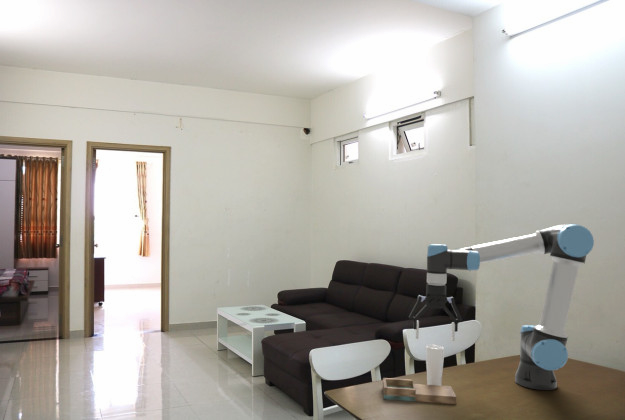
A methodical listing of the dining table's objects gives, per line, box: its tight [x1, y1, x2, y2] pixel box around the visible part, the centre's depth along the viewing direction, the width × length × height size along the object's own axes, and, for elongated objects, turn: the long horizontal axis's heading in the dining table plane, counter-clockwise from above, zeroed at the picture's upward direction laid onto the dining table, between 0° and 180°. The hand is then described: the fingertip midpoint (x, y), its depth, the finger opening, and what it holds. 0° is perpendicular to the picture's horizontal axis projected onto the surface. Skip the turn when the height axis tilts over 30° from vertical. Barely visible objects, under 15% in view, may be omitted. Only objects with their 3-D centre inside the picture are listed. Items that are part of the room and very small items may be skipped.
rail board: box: [382, 377, 457, 405], centre depth 177 cm, size 25×11×4 cm, turn 84°
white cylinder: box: [425, 344, 445, 386], centre depth 189 cm, size 7×7×15 cm
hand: (434, 339), depth 189 cm, fingers open, 13 cm apart
